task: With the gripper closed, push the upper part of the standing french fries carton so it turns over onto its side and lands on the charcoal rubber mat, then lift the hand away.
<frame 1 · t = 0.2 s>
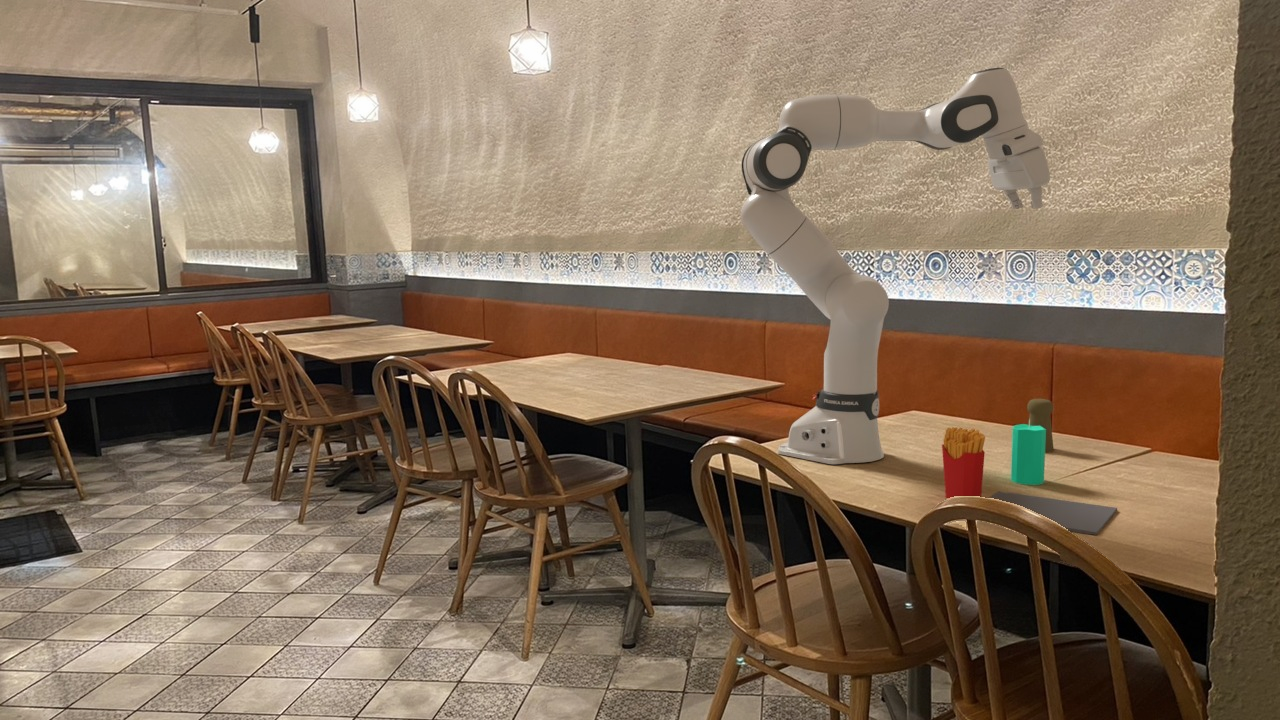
hand: (1027, 208, 207), 52 cm above the table, tool tilted 20°, fingers open, 8 cm apart
cork: (1038, 450, 215), on the table
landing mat: (1043, 513, 169), on the table
candle: (1027, 481, 190), on the table
french fries: (964, 501, 177), on the table
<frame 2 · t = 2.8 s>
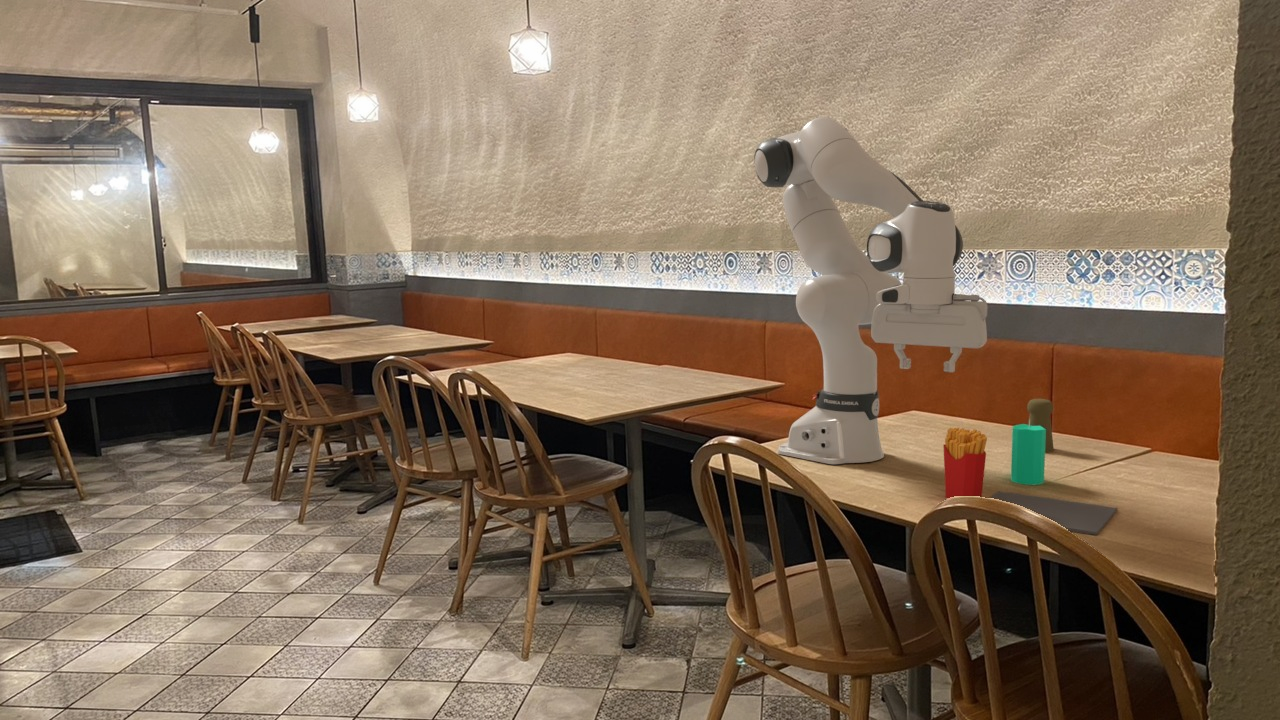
hand: (926, 370, 178), 23 cm above the table, tool pointing down, fingers open, 7 cm apart
nothing on the table moved.
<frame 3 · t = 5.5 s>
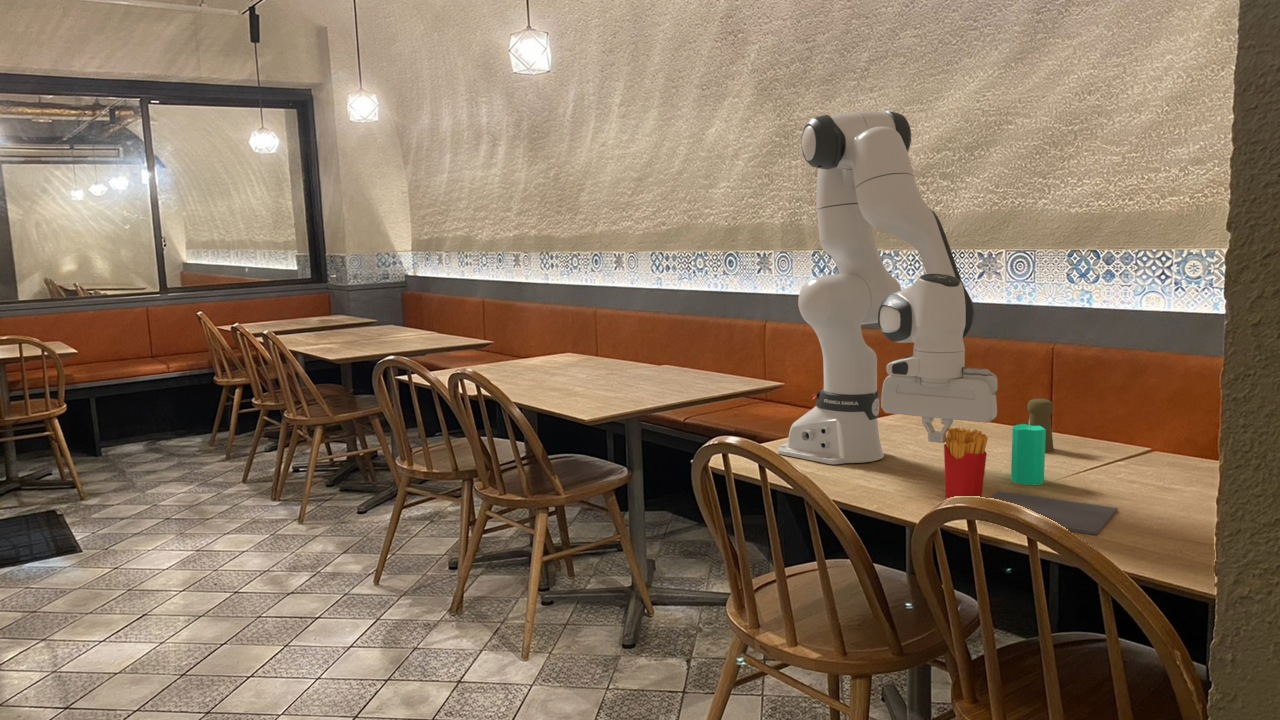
hand: (937, 441, 179), 10 cm above the table, tool pointing down, fingers closed
french fries: (964, 502, 177), on the table, touching gripper
everything else where it was.
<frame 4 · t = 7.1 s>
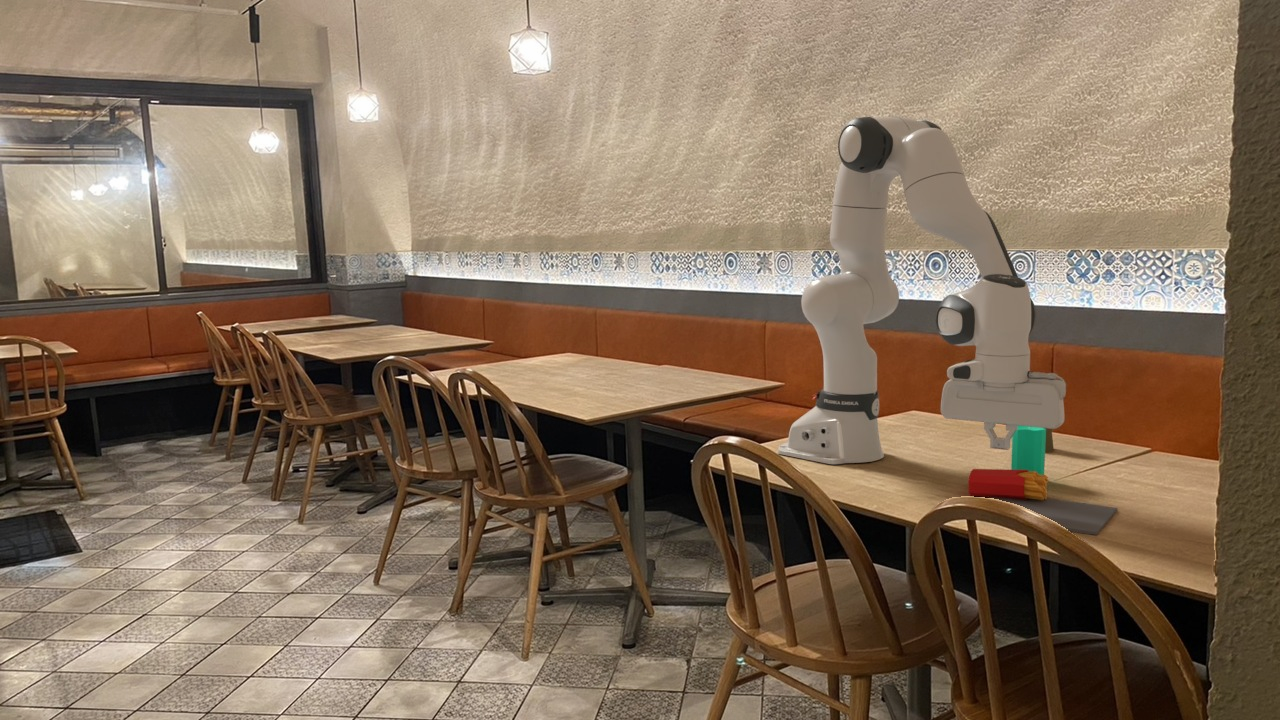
hand: (1000, 448, 172), 10 cm above the table, tool pointing down, fingers closed
french fries: (970, 482, 182), point 2 cm above the table, touching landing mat
everything else where it was.
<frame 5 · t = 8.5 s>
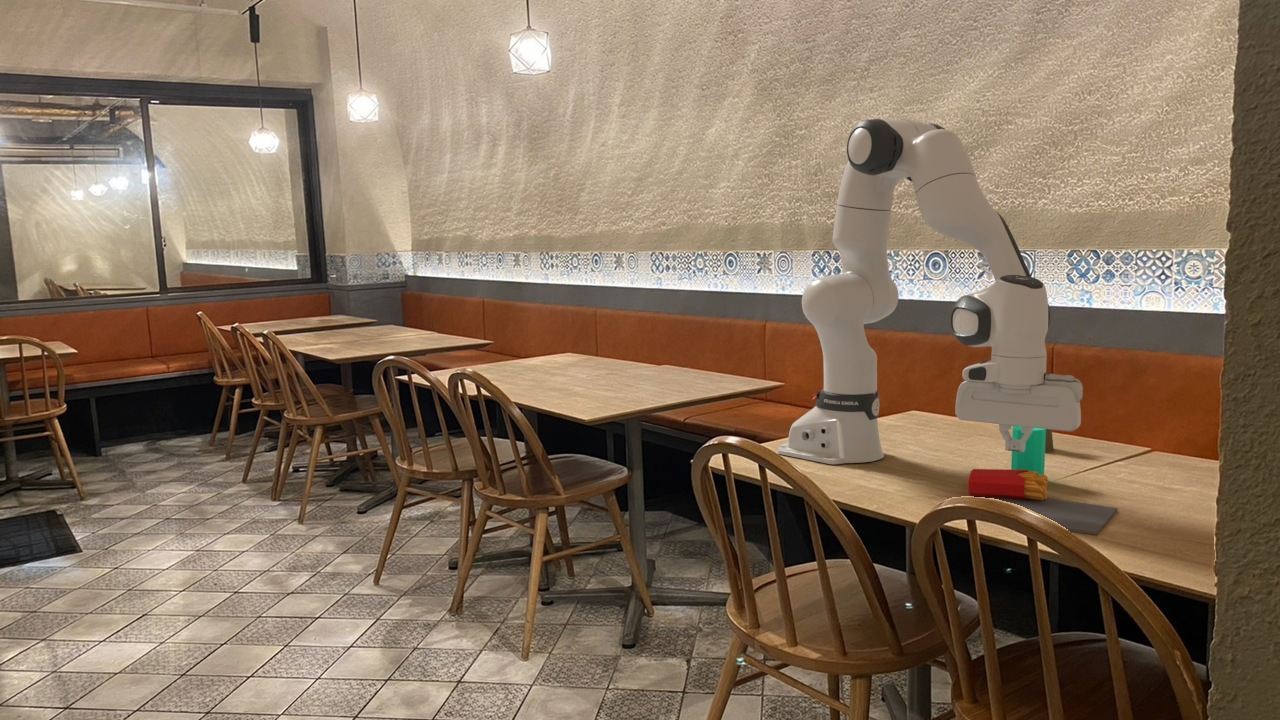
hand: (1015, 450, 171), 10 cm above the table, tool pointing down, fingers closed
nothing on the table moved.
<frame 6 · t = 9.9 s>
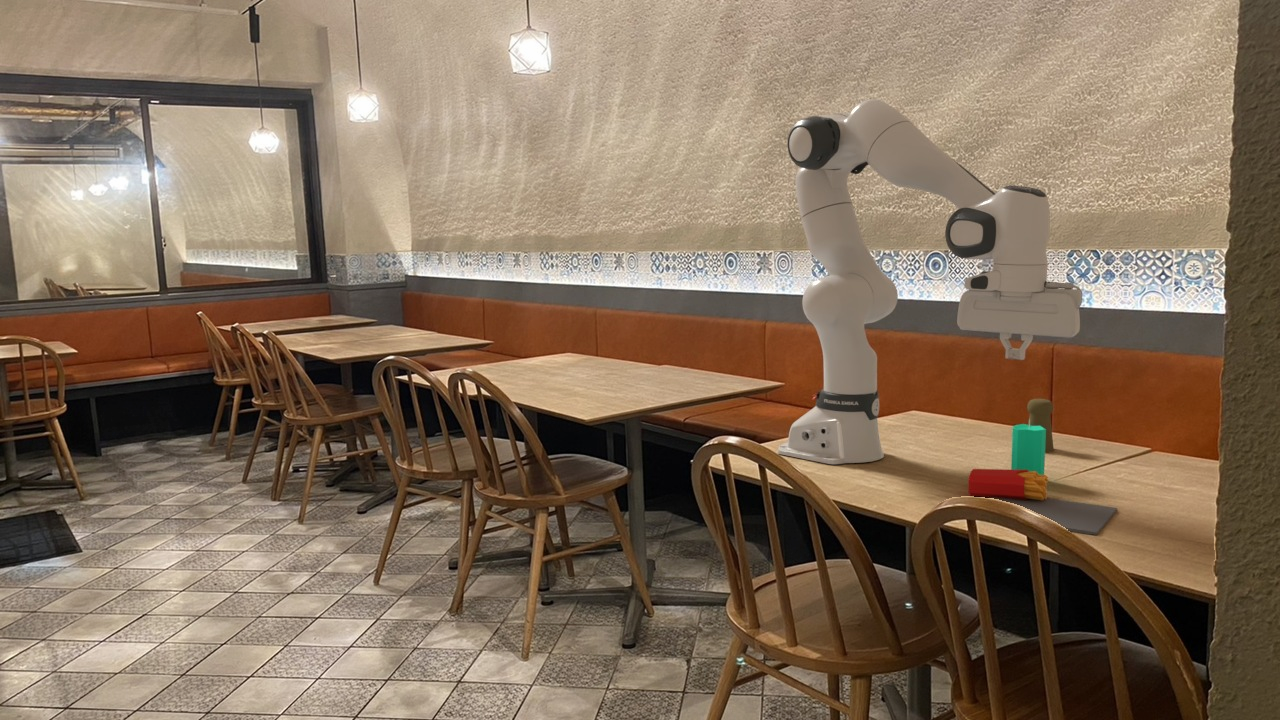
hand: (1015, 359, 175), 25 cm above the table, tool pointing down, fingers closed
nothing on the table moved.
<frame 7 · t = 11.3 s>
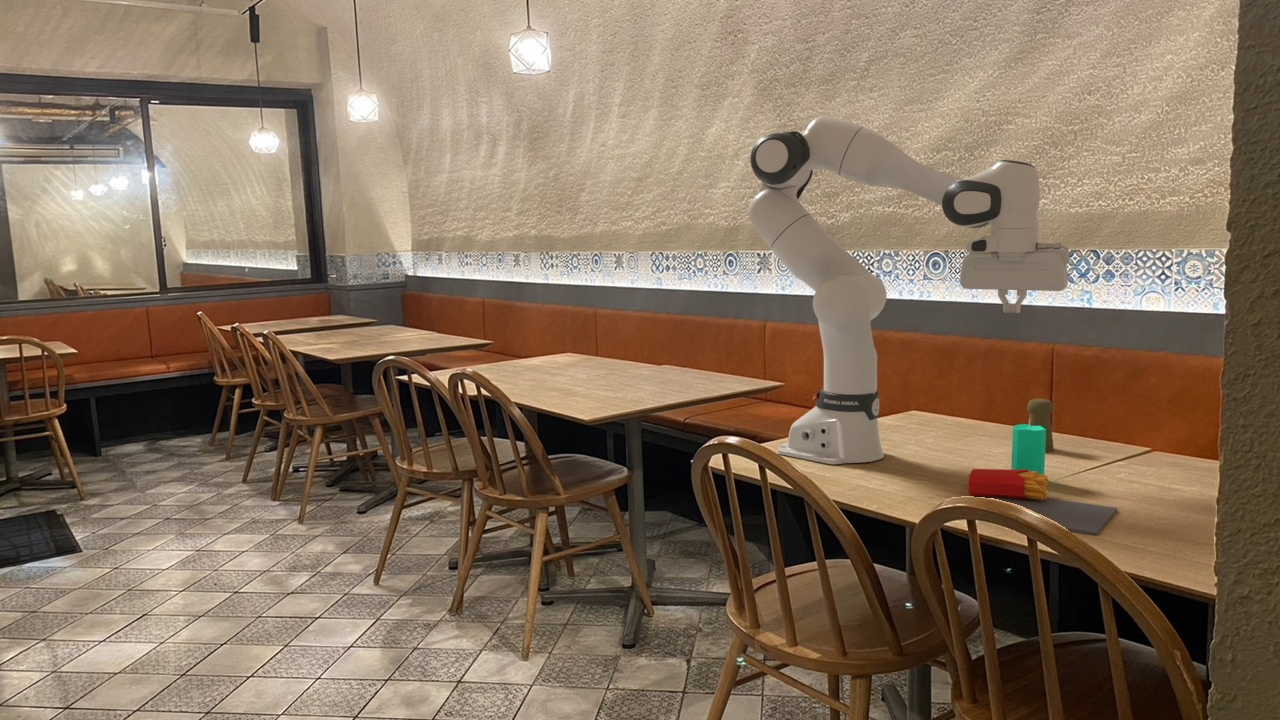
hand: (1011, 312, 198), 31 cm above the table, tool pointing down, fingers closed
nothing on the table moved.
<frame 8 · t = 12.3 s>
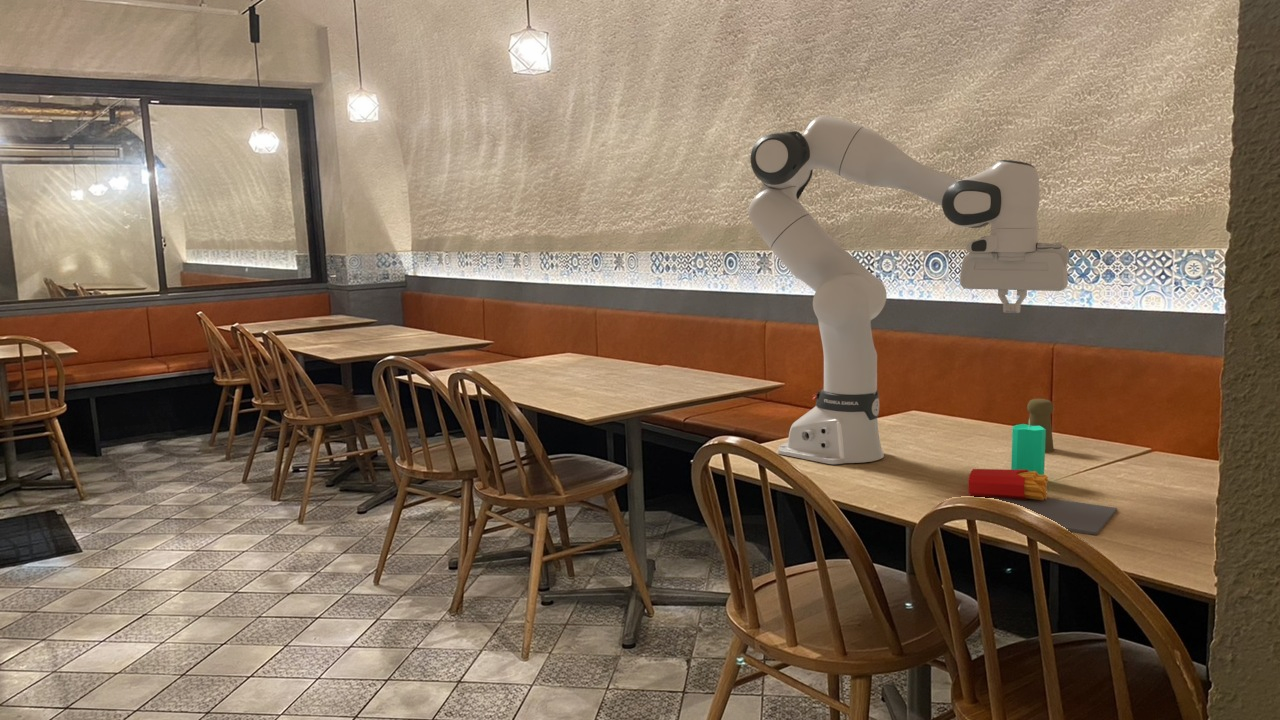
hand: (1011, 312, 198), 31 cm above the table, tool pointing down, fingers closed
nothing on the table moved.
at the end: french fries tilted 86°; french fries touching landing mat, table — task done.
